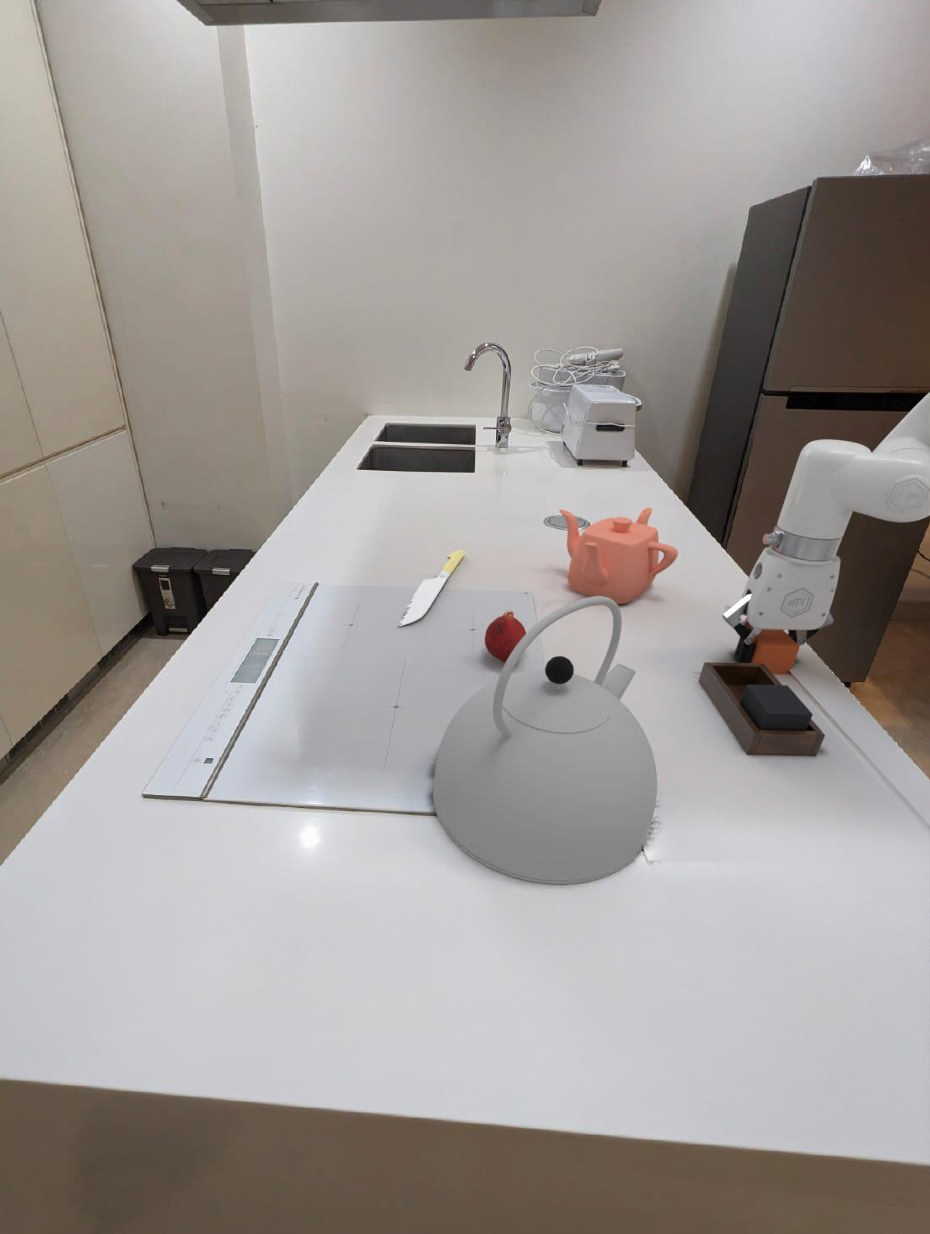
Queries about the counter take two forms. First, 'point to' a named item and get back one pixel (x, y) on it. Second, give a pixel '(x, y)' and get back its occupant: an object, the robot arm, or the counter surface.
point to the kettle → (549, 769)
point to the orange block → (775, 651)
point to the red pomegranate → (503, 636)
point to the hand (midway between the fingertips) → (761, 663)
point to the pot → (615, 557)
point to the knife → (430, 590)
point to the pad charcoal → (775, 708)
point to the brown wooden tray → (726, 694)
